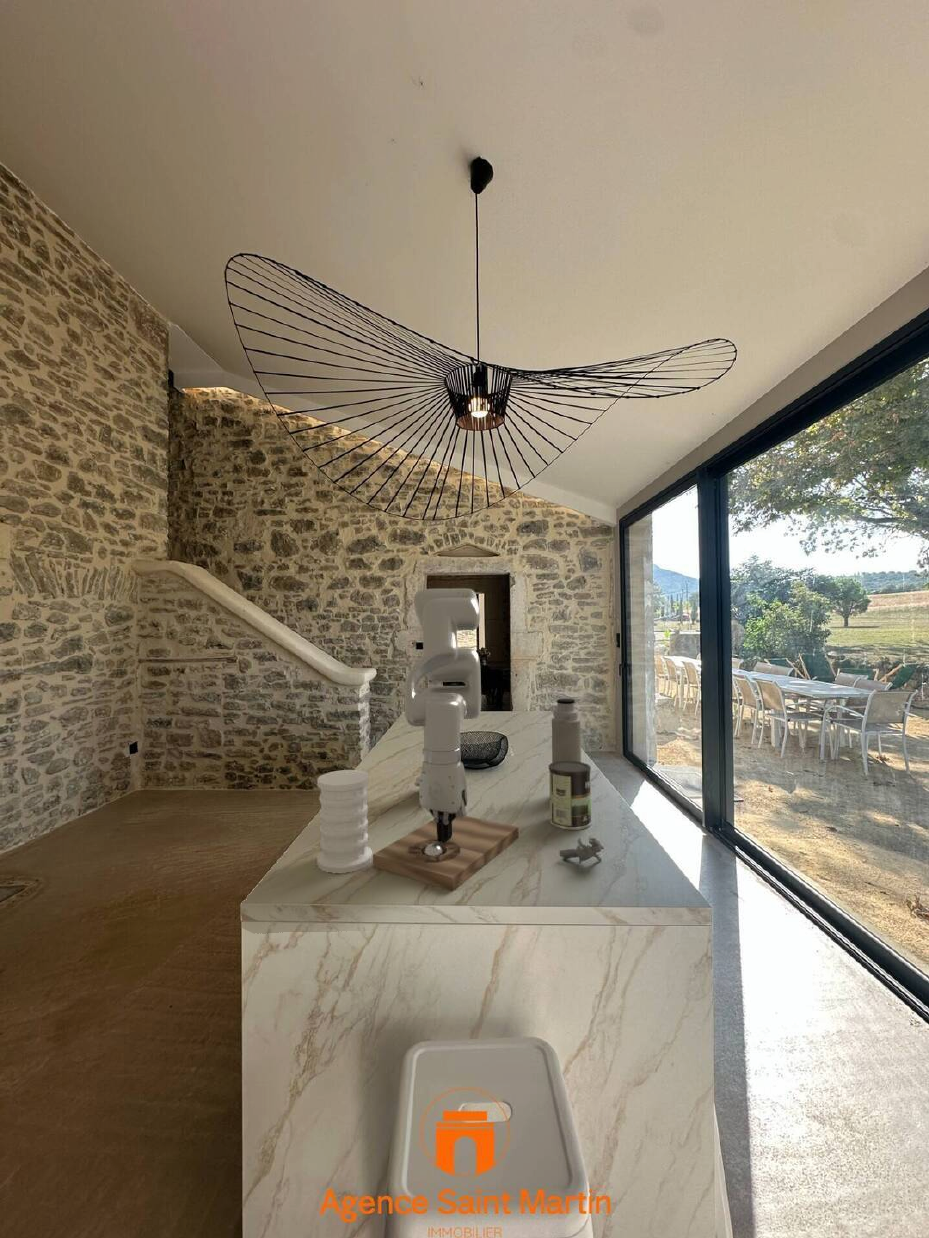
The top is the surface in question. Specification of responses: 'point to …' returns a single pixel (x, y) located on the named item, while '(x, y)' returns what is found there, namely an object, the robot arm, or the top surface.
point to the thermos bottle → (566, 732)
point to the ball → (433, 850)
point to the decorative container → (344, 821)
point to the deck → (447, 851)
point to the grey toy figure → (583, 851)
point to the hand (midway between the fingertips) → (444, 839)
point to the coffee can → (570, 795)
